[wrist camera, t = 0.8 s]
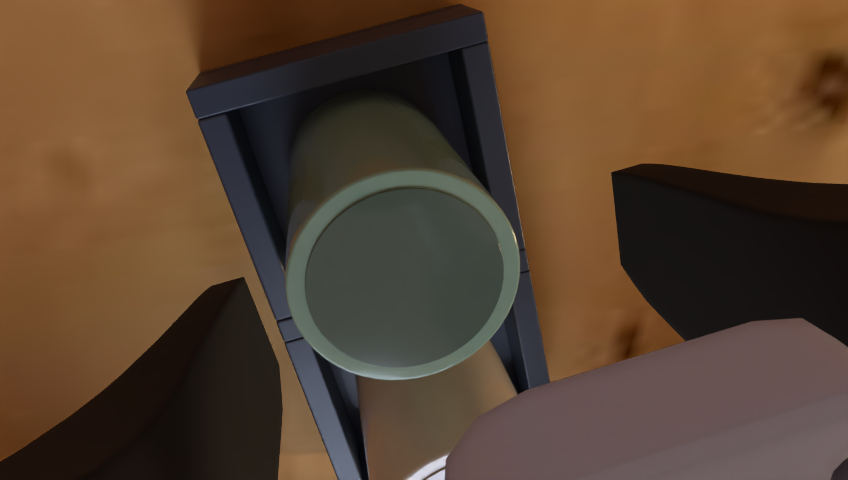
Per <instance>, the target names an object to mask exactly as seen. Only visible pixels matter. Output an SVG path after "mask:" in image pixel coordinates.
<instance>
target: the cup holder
mask: <svg viewBox="0 0 848 480" xmlns="http://www.w3.org/2000/svg"><path fill="white" fill-rule="evenodd" d="M487 41H488V35H487V30H486V24H485V18H484V13H483V12H482V11H479V10H476V9H473V8H471V7H468V6H465V5H462V4H457V5H453V6H449V7H445V8H442V9H438V10H434V11H430V12H427V13H423V14H419V15H415V16H412V17H408V18H404V19H400V20H397V21H393V22H389V23H385V24H382V25H378V26H374V27H370V28H367V29H363V30H359V31H355V32H352V33H348V34H344V35H340V36H337V37H333V38H329V39H325V40H322V41H318V42H314V43H310V44H306V45H303V46H299V47H295V48H291V49H288V50H284V51H280V52H276V53H273V54H269V55H265V56H261V57H258V58H254V59H250V60H246V61H243V62H239V63H235V64H231V65H228V66H224V67H220V68H216V69H213V70H209V71H205V72H201V73H200V74H199V75H198V76H197V77H196V79H195V80H194V81H193V83H192V84H191V85H190V87H189V88H188V89H187V91H186V94H187V96H188V99H189V101H190V104H191V107H192V109H193V112H194V114H195V117H196V118H197V119H199V120H198V124H199V126H200V129H201V131H202V134H203V136H204V139H205V142H206V144H207V147H208V149H209V152H210V154H211V157H212V159H213V162H214V164H215V167H216V170H217V172H218V175H219V177H220V180H221V182H222V185H223V187H224V190H225V192H226V195H227V198H228V200H229V203H230V205H231V208H232V210H233V213H234V215H235V218H236V221H237V223H238V226H239V228H240V231H241V233H242V236H243V238H244V241H245V243H246V246H247V249H248V251H249V254H250V256H251V259H252V261H253V264H254V266H255V269H256V271H257V274H258V277H259V279H260V282H261V284H262V287H263V289H264V292H265V294H266V297H267V300H268V302H269V305H270V307H271V310H272V312H273V315H274V317H275V319H276V320H277V325H278V328H279V330H280V333H281V336H282V338H283V340H284V341H285V346H286V348H287V351H288V354H289V356H290V359H291V361H292V364H293V366H294V369H295V371H296V374H297V377H298V379H299V382H300V384H301V387H302V389H303V392H304V394H305V397H306V399H307V402H308V405H309V407H310V410H311V412H312V415H313V417H314V420H315V422H316V425H317V427H318V430H319V433H320V435H321V438H322V440H323V443H324V445H325V448H326V450H327V453H328V455H329V458H330V461H331V463H332V466H333V468H334V471H335V473H336V476H337V478H338V480H369V478H368V471H367V464H366V457H365V449H364V442H363V435H362V428H361V420H360V413H359V406H358V399H357V392H356V384H355V377H354V374H353V373H350V372H348V371H346V370H344V369H341V368H339V367H337V366H335V365H334V364H332V363H331V362H329V361H328V360H326V359H325V358H323V357H322V356H321V355H320V354H319V353H317V352H316V351H315V350H314V349H313V348H312V347H311V346H310V345H309V344H308V342H307V341H306V340H305V339H304V338H303V336H302V335H301V333H300V332H299V330H298V329H297V327H296V325H295V323H294V321H293V318H292V316H291V314H290V310H289V307H288V304H287V299H286V291H285V263H286V229H287V196H288V163H289V154H290V149H291V145H292V142H293V139H294V137H295V135H296V133H297V130H298V129H299V127H300V126H301V124H302V123H303V121H304V120H305V119H306V118H307V116H308V115H309V114H310V113H311V112H312V111H313V110H314V109H316V108H317V107H318V106H319V105H321V104H322V103H324V102H325V101H326V100H328V99H330V98H332V97H334V96H336V95H339V94H342V93H345V92H348V91H353V90H358V89H379V90H384V91H389V92H392V93H395V94H398V95H401V96H403V97H405V98H407V99H409V100H410V101H412V102H413V103H415V104H416V105H417V106H419V107H420V108H421V109H422V110H423V111H424V112H425V113H426V114H427V115H428V116H429V118H430V119H431V120H432V121H433V123H434V124H435V125H436V126H437V128H438V129H439V130H440V131H441V133H442V134H443V135H444V136H445V138H446V139H447V140H448V142H449V143H450V144H451V145H452V147H453V148H454V149H455V150H456V152H457V153H458V154H459V156H460V157H461V158H462V159H463V161H464V162H465V163H466V164H467V166H468V167H469V168H470V170H471V171H472V172H473V173H474V175H475V176H476V177H477V178H478V180H479V181H480V182H481V183H482V185H483V186H484V187H485V189H486V190H487V191H488V192H489V194H490V195H491V196H492V197H493V199H494V200H495V201H496V203H497V204H498V205H499V206H500V208H501V209H502V210H503V212H504V213H505V215H506V217H507V218H508V220H509V221H510V223H511V226H512V228H513V230H514V233H515V235H516V239H517V243H518V247H519V254H520V277H519V283H518V289H517V292H516V295H515V298H514V302H513V304H512V306H511V308H510V310H509V313H508V315H507V316H506V318H505V320H504V321H503V323H502V324H501V326H500V327H499V329H498V330H497V331H496V332H495V334H494V335H493V336H492V337H491V338H490V339H491V341H492V343H493V345H494V347H495V349H496V351H497V353H498V355H499V357H500V359H501V361H502V363H503V365H504V367H505V369H506V371H507V373H508V375H509V377H510V379H511V381H512V383H513V385H514V387H515V389H516V391H517V393H518V394H520V393H522V392H524V391H526V390H528V389H531V388H535V387H538V386H541V385H545V384H548V383H550V379H549V374H548V368H547V362H546V357H545V351H544V346H543V340H542V335H541V329H540V324H539V318H538V313H537V307H536V301H535V296H534V290H533V285H532V279H531V274H530V270H529V263H528V258H527V252H526V249H525V241H524V235H523V230H522V224H521V219H520V213H519V208H518V202H517V197H516V191H515V186H514V180H513V174H512V169H511V163H510V158H509V152H508V147H507V141H506V136H505V130H504V125H503V119H502V113H501V108H500V102H499V97H498V91H497V86H496V80H495V75H494V69H493V63H492V58H491V52H490V47H489V43H488V42H487Z"/></svg>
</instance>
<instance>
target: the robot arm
mask: <svg viewBox="0 0 848 480" xmlns="http://www.w3.org/2000/svg"><path fill="white" fill-rule="evenodd" d="M611 174H612V184H613V193H614V203H615V213H616V222H617V232H618V241H619V251H620V260H621V265H622V267H623V268H624V270H625V271H626V273H627V274H628V276H629V277H630V279H631V280H632V282H633V283H634V284H635V286H636V287H637V289H638V290H639V291H640V293H641V294H642V295H643V297H644V298H645V299H646V301H647V302H648V303H649V304H650V305H651V306H652V307H653V308H654V309H655V310H656V311H657V312H658V313H659V314H660V315H661V316H662V317H663V318H664V319H665V321H666V322H667V323H668V324H669V325H670V326H671V327H672V328H673V329H674V330H675V331H676V332H677V333H678V334H679V335H680V336H681V337H682V338H683V339H684V340H685V341H686V342H682V343H679V344H676V345H673V346H669V347H666V348H663V349H659V350H656V351H653V352H650V353H646V354H643V355H640V356H636V357H633V358H630V359H627V360H623V361H620V362H617V363H613V364H610V365H607V366H604V367H600V368H597V369H594V370H590V371H587V372H584V373H581V374H577V375H574V376H571V377H567V378H564V379H561V380H558V381H554V382H551V383H548V384H545V385H541V386H538V387H535V388H531V389H528V390H526V391H524V392H522V393H520V394H518V395H516V396H515V397H513V398H511V399H509V400H507V401H506V402H504V403H502V404H500V405H498V406H496V407H495V408H493V409H491V410H489V411H487V412H485V413H484V414H482V415H480V416H478V417H476V419H475V420H474V421H473V423H472V424H471V425H470V427H469V428H468V430H467V431H466V432H465V434H464V435H463V436H462V438H461V439H460V440H459V442H458V443H457V445H456V446H455V447H454V449H453V450H452V451H451V453H450V454H449V455H448V457H447V458H446V465H445V480H848V184H826V183H807V182H793V181H784V180H774V179H764V178H756V177H748V176H741V175H733V174H727V173H720V172H713V171H707V170H700V169H693V168H687V167H680V166H672V165H663V164H639V165H636V166H632V167H629V168H625V169H621V170H618V171H614V172H611ZM282 410H283V408H282V393H281V381H280V370H279V364H278V361H277V359H276V356H275V354H274V351H273V349H272V346H271V344H270V341H269V339H268V336H267V334H266V331H265V329H264V326H263V324H262V321H261V319H260V316H259V314H258V311H257V309H256V306H255V304H254V301H253V299H252V296H251V294H250V291H249V289H248V286H247V284H246V281H245V279H244V277H241V278H238V279H234V280H231V281H227V282H224V283H220V284H217V285H213V286H211V287H209V288H208V289H207V290H206V291H205V292H203V293H202V294H201V295H200V296H199V297H198V298H197V299H196V300H195V301H194V302H193V303H192V304H191V305H190V306H189V308H188V309H187V310H186V311H185V312H184V313H183V314H182V315H181V316H180V317H179V318H178V319H177V320H176V321H175V322H174V323H173V324H172V325H171V327H170V328H169V329H168V330H167V331H166V332H165V333H164V334H163V335H162V336H161V337H160V338H159V339H158V340H157V341H156V342H155V343H154V344H153V345H152V346H151V347H150V348H149V349H148V350H147V351H146V352H145V353H144V354H143V355H142V356H141V357H139V358H138V359H137V360H136V361H135V362H134V363H133V364H132V365H131V366H130V367H129V368H128V369H127V370H126V371H125V372H124V373H123V374H122V375H120V376H119V377H118V378H117V379H116V380H115V381H114V382H112V383H111V384H110V385H109V386H108V387H107V388H105V389H104V390H103V391H102V392H101V393H99V394H98V395H97V396H95V397H94V398H93V399H92V400H90V401H89V402H88V403H87V404H85V405H84V406H83V407H81V408H80V409H79V410H78V411H76V412H75V413H74V414H72V415H71V416H69V417H68V418H67V419H65V420H64V421H62V422H61V423H59V424H58V425H56V426H55V427H53V428H52V429H50V430H49V431H47V432H46V433H44V434H43V435H41V436H40V437H38V438H37V439H36V440H34V441H33V442H31V443H30V444H28V445H27V446H25V447H24V448H22V449H21V450H19V451H17V452H16V453H14V454H13V455H11V456H9V457H8V458H6V459H4V460H3V461H1V462H0V480H278V468H279V455H280V441H281V426H282Z"/></svg>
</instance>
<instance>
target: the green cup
mask: <svg viewBox="0 0 848 480" xmlns="http://www.w3.org/2000/svg"><path fill="white" fill-rule="evenodd" d="M519 277H520V254H519V247H518V243H517V239H516V235H515V233H514V230H513V228H512V226H511V223H510V221H509V220H508V218H507V217H506V215H505V213H504V212H503V210H502V209H501V208H500V206H499V205H498V204H497V203H496V201H495V200H494V199H493V197H492V196H491V195H490V194H489V192H488V191H487V190H486V189H485V187H484V186H483V185H482V183H481V182H480V181H479V180H478V178H477V177H476V176H475V175H474V173H473V172H472V171H471V170H470V168H469V167H468V166H467V164H466V163H465V162H464V161H463V159H462V158H461V157H460V156H459V154H458V153H457V152H456V150H455V149H454V148H453V147H452V145H451V144H450V143H449V142H448V140H447V139H446V138H445V136H444V135H443V134H442V133H441V131H440V130H439V129H438V128H437V126H436V125H435V124H434V123H433V121H432V120H431V119H430V118H429V116H428V115H427V114H426V113H425V112H424V111H423V110H422V109H421V108H420V107H419V106H417V105H416V104H415V103H413V102H412V101H410V100H409V99H407V98H405V97H403V96H401V95H398V94H395V93H392V92H389V91H384V90H379V89H358V90H353V91H348V92H345V93H342V94H339V95H336V96H334V97H332V98H330V99H328V100H326V101H325V102H324V103H322V104H321V105H319V106H318V107H317V108H316V109H314V110H313V111H312V112H311V113H310V114H309V115H308V116H307V118H306V119H305V120H304V121H303V123H302V124H301V126H300V127H299V129H298V130H297V133H296V135H295V137H294V139H293V142H292V145H291V149H290V154H289V163H288V196H287V229H286V263H285V291H286V299H287V304H288V307H289V310H290V314H291V316H292V318H293V321H294V323H295V325H296V327H297V329H298V330H299V332H300V333H301V335H302V336H303V338H304V339H305V340H306V341H307V342H308V344H309V345H310V346H311V347H312V348H313V349H314V350H315V351H316V352H317V353H319V354H320V355H321V356H322V357H323V358H325V359H326V360H328V361H329V362H331V363H332V364H334V365H335V366H337V367H339V368H341V369H344V370H346V371H348V372H350V373H353V374H356V375H360V376H363V377H368V378H373V379H380V380H408V379H415V378H421V377H425V376H429V375H433V374H435V373H438V372H441V371H444V370H446V369H448V368H450V367H452V366H454V365H456V364H459V363H460V362H462V361H463V360H465V359H466V358H468V357H470V356H471V355H472V354H474V353H475V352H476V351H477V350H479V349H480V348H481V347H482V346H483V345H484V344H485V343H486V342H487V341H488V340H489V339H490V338H491V337H492V336H493V335H494V334H495V332H496V331H497V330H498V329H499V327H500V326H501V324H502V323H503V321H504V320H505V318H506V316H507V315H508V313H509V310H510V308H511V306H512V304H513V302H514V298H515V295H516V292H517V289H518V283H519Z"/></svg>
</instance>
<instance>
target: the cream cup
mask: <svg viewBox="0 0 848 480" xmlns="http://www.w3.org/2000/svg"><path fill="white" fill-rule="evenodd" d="M354 377H355V384H356V392H357V399H358V406H359V413H360V420H361V428H362V435H363V442H364V449H365V457H366V464H367V471H368V478H369V480H445V465H446V458H447V457H448V455H449V454H450V453H451V451H452V450H453V449H454V447H455V446H456V445H457V443H458V442H459V440H460V439H461V438H462V436H463V435H464V434H465V432H466V431H467V430H468V428H469V427H470V425H471V424H472V423H473V421H474V420H475V419H476V417H478V416H480V415H482V414H484V413H485V412H487V411H489V410H491V409H493V408H495V407H496V406H498V405H500V404H502V403H504V402H506V401H507V400H509V399H511V398H513V397H515V396H516V395H518V393H517V391H516V389H515V387H514V385H513V383H512V381H511V379H510V377H509V375H508V373H507V371H506V369H505V367H504V365H503V363H502V361H501V359H500V357H499V355H498V353H497V351H496V349H495V347H494V345H493V343H492V341H491V339H489V340H488V341H487V342H486V343H485V344H484V345H483V346H482V347H481V348H480V349H479V350H477V351H476V352H475V353H474V354H472V355H471V356H470V357H468V358H466V359H465V360H463V361H462V362H460V363H459V364H456V365H454V366H452V367H450V368H448V369H446V370H444V371H441V372H438V373H435V374H433V375H429V376H425V377H421V378H415V379H408V380H380V379H373V378H368V377H363V376H360V375H356V374H354Z"/></svg>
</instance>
